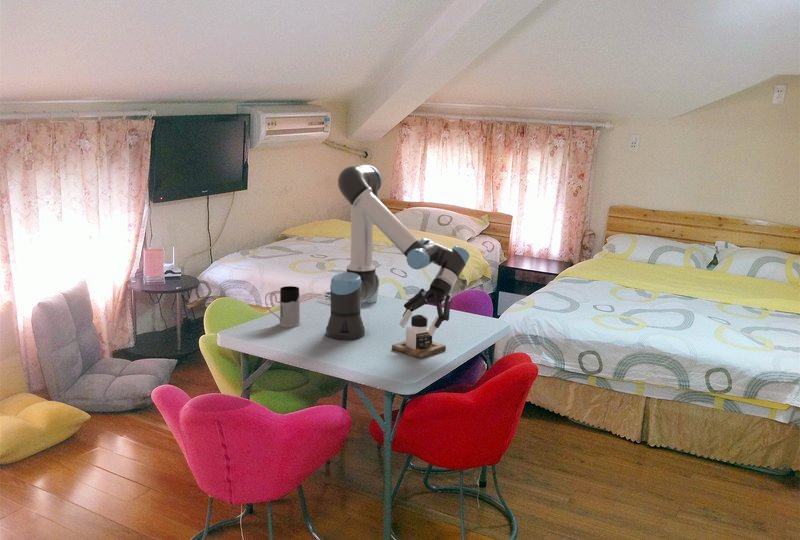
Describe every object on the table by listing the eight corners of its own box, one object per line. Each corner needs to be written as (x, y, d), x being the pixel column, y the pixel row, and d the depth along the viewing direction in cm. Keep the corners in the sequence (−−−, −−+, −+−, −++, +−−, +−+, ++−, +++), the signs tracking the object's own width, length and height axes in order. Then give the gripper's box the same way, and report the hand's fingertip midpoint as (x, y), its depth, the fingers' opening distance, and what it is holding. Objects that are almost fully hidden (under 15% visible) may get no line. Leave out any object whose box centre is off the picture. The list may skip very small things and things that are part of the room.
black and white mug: (302, 326, 282) (302, 290, 279) (267, 329, 277) (266, 292, 274) (298, 320, 290) (298, 285, 287) (263, 323, 285) (263, 287, 282)
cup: (378, 303, 319) (379, 281, 316) (361, 303, 319) (362, 281, 317) (379, 299, 326) (379, 277, 324) (363, 299, 326) (363, 277, 324)
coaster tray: (391, 349, 257) (392, 344, 257) (417, 341, 268) (417, 336, 267) (420, 359, 248) (420, 354, 248) (445, 350, 258) (445, 345, 258)
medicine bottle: (415, 351, 253) (416, 319, 251) (405, 346, 259) (406, 314, 256) (432, 348, 257) (433, 317, 254) (421, 343, 263) (422, 312, 260)
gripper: (473, 295, 256) (446, 343, 249) (422, 282, 273) (395, 327, 265) (465, 283, 251) (437, 331, 244) (413, 271, 268) (385, 316, 260)
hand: (415, 329), depth 254 cm, fingers open, 13 cm apart
